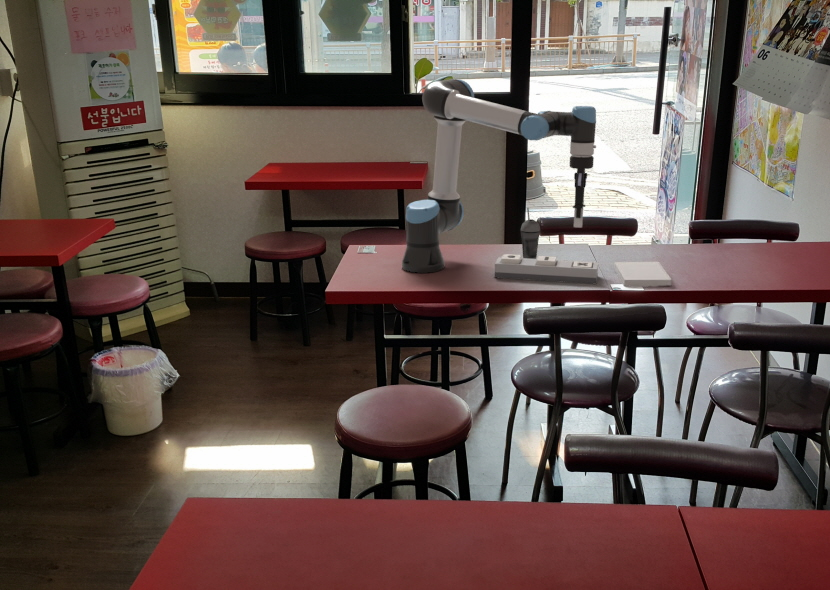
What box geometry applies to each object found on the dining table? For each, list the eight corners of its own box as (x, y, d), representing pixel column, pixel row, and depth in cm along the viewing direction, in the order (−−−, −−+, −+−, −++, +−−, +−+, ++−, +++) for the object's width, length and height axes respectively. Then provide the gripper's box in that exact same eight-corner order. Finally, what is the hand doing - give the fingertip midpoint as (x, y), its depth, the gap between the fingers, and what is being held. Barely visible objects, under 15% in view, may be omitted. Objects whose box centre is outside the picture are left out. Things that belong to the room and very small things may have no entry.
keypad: (494, 277, 276) (494, 263, 274) (498, 270, 284) (498, 256, 283) (596, 283, 268) (597, 269, 266) (597, 276, 276) (598, 262, 274)
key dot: (501, 265, 276) (501, 258, 275) (503, 261, 281) (504, 253, 280) (518, 266, 274) (518, 259, 273) (521, 262, 280) (521, 254, 279)
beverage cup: (540, 264, 292) (542, 209, 286) (520, 264, 292) (522, 209, 286) (538, 258, 299) (540, 205, 293) (518, 259, 299) (519, 205, 293)
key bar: (536, 267, 273) (536, 260, 272) (538, 262, 278) (538, 255, 277) (554, 268, 271) (554, 261, 270) (556, 263, 277) (556, 256, 276)
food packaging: (670, 289, 264) (657, 270, 282) (671, 279, 262) (658, 261, 281) (624, 289, 265) (614, 271, 283) (624, 279, 264) (614, 262, 282)
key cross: (572, 273, 270) (572, 265, 269) (573, 268, 276) (574, 261, 275) (590, 274, 269) (591, 266, 268) (591, 269, 274) (592, 262, 273)
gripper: (592, 158, 254) (588, 231, 261) (594, 153, 266) (590, 223, 273) (568, 157, 256) (564, 230, 263) (571, 152, 268) (567, 222, 275)
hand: (577, 226), depth 268 cm, fingers closed
